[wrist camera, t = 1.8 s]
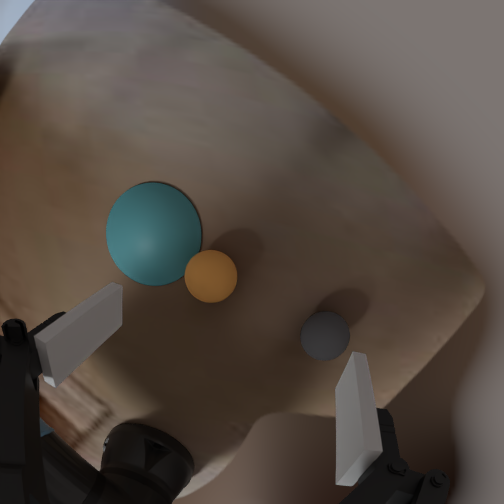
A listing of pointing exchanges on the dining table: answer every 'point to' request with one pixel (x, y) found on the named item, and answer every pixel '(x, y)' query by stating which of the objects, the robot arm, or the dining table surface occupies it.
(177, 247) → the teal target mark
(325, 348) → the charcoal ball
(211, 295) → the orange ball
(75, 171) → the dining table surface
